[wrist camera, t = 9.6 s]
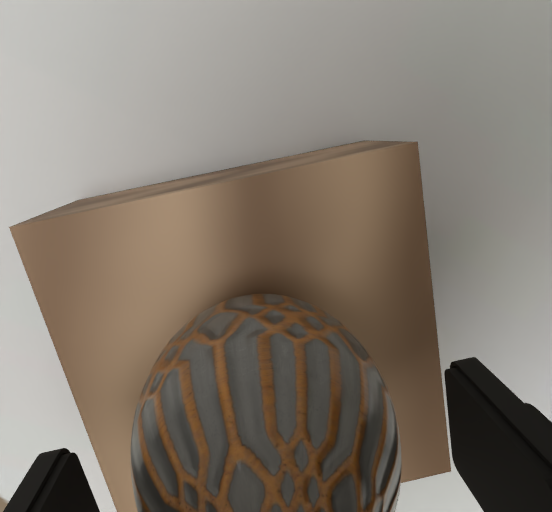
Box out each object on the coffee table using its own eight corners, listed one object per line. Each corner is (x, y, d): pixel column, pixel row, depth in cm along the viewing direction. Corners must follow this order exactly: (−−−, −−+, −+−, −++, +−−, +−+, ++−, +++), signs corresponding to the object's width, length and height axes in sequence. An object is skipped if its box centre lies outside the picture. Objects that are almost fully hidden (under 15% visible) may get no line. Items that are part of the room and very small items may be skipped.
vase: (393, 346, 16) (579, 593, 7) (269, 474, 17) (303, 824, 8) (246, 225, 14) (261, 361, 5) (118, 376, 15) (-36, 687, 6)
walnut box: (364, 140, 19) (417, 141, 14) (397, 387, 23) (451, 471, 17) (78, 200, 19) (9, 227, 13) (157, 442, 23) (130, 546, 17)
